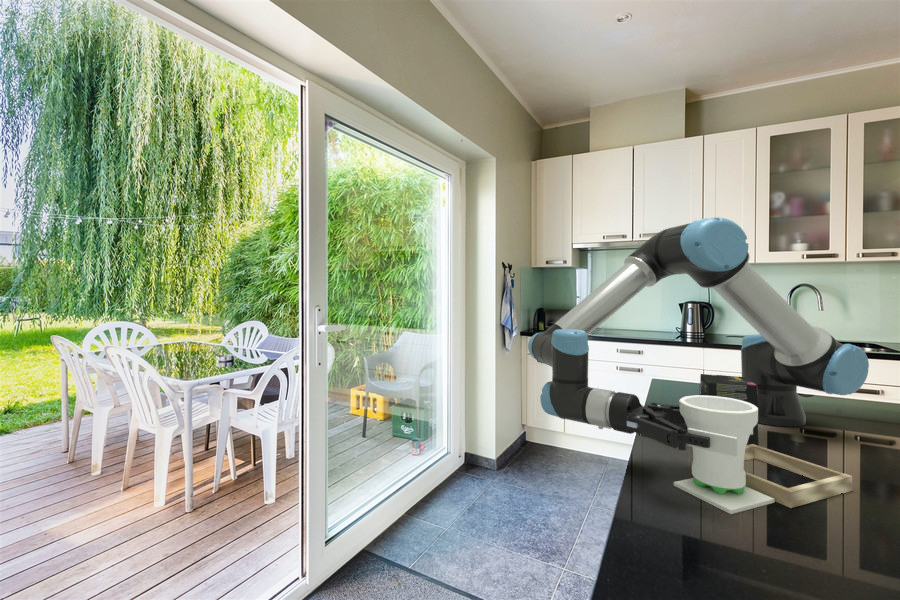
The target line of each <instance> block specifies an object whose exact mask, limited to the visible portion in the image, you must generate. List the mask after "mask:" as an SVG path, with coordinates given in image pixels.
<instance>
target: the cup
mask: <svg viewBox="0 0 900 600" xmlns="http://www.w3.org/2000/svg"><path fill="white" fill-rule="evenodd" d="M678 403H679V406H680V413H681V415H682V416H683V418H684V420H685V422H686V424H685V425H686V427H687V429H688V428H692V429H697V430H702V431H707V432H712V433H717V434H722V435H727V436H732V437H737V438H738V456H737V457H735V456H730V455H726V454H722V453H717V452H713V451H709V450H704V449H700V448H695V447H692V448H691V449H692V458H693V459H692V460H693V461H692V463H691V475H692V476H693V477H692V478H694V480H695V482H696V484H697V485H698V486H701V487H706V486H710V487H712V488H713V490H714V491H715V492H716V493H718V494H724V493H725V492H726V491H727V490H731V491H732V492H734V493H737V494H741V493H743V491H744V488H745V485H746V474H745V472H746V471H745V469H744V468H745V467H744V466H745V465H744V464H745V461H744V455H745V448H746V445H747V442H748V439H749V436H750V434H751V432H752V429H753V428H754V427H755V425H756V424H757V422H758V408H757V407H756V406H755V405H753V404H751V403H748V402H745V401H742V400H737V399H733V398H726V397H718V396H706V395H697V394H696V395H687V396H683V397H681V398H680V399H679V401H678Z"/></svg>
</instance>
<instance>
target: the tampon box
mask: <svg viewBox="0 0 900 600" xmlns="http://www.w3.org/2000/svg"><path fill="white" fill-rule="evenodd" d="M699 382H700V384H699V385H700V386H699V387H700V389H699V390H700V392H699V393H700V395H706V396H718V397H726V398H733V399H737V400H742V401H745V402H748V403H751V404H753V405H755V406H756V407H757V408H758V391H757V385H756V384H754V383H753V382H751V381H750V380H748V379H747V378H745V377H742V376H737V375H735V376H733V375H724V374H707V373H706V374H705V373H701V374H700V381H699ZM750 444H754V445H757V446H760V445H759V423H758V422H757V424H756V425H755V427H754V428H753V435H751V434H750V436H749V439H748V442H747V445H750Z"/></svg>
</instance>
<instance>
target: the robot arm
mask: <svg viewBox="0 0 900 600" xmlns="http://www.w3.org/2000/svg"><path fill="white" fill-rule="evenodd" d="M746 240H748V236H747V235H746V232H745V231H744V229H743V228H742V227H741V226H740V225H739V224H737V223H736V222H734V221H732V219H731V220H730V219H728V218H724V217H709V218H707V217H705V218H700V219H698V220H694V221H692V222H690V223H686V224H681V225H677V226H673V227H669V228H665V229H663V230H661V231H659V232H657V233H656V234H654V235H653V236H651V237H650V238H649V239H648V240H646V241H645V242H643V244H642V245H640V246H639V247H638V248H637V249H636V250H634V251H633V252H632V253H631V254H629V255H628V256H627V257H626V258H625V259H624V262H623V264H624V265H623V266H622V267H620V268H619V269H618V270H617V271H615V272H614V273H613V274H611V276H609V278H607V279H606V280H605V281H603V282H602V283H601V284H600V285H598V287H596V288H595V289H594V290H593V291H591V293H590V294H588V295H587V296H586V297H585V298H583V299H582V300H581V301H580V302H578V303H577V305H575V306H574V307H573V308H572V309H570V310H569V311H568V312H566V313H565V314H564V315H563V316H562V317H561V318H560V319H558V320H557V321H556V322H555V323H554V324H552V325H551V326H550V327H548V328H547V329H546V330H545V331H540V332H536V333H534V334H533V335H532V336H531V337H530V339H529V341H528V345H527V350H528V351H529V355H530V357H532V358H533V359H535V361H537V362H538V363H541V364H545V365H548V366H549V367H551V370H552V377H551V381H548V382H546V383H545V384H544V385H543V387H542V389H541V394H540V397H539V399H540V405H541V406H540V407H541V408H542V410H543V412H544V413H546V414H547V415H551V416H553V417H557V418H560V419H562V420H567V421H573V422H578V423H583V424H587V425H590V426H591V425H592V426H597V427H598V429H599V430H603V429H607V430H608V429H609V430H610V429H612V430H613V431H617V432H621V433H625V434H630V435H632V434H634V433H636V434H639V435H641V436H644V437H647V438H648V439H651V440H653V441H656V442H658V443H660V444H664V445H666V446H668V447H671V448H674V449H676V448H678V450H679V451H687V447H695V448H700V449H704V450H709V451H713V452H717V453H722V454H726V455H730V456H735V457H737V456H738V438H737V437H732V436H727V435H722V434H717V433H712V432H707V431H702V430H697V429H692V428H687V430H686V429H685V428H683V427H681V426H678V425H677V424H679V425H680V424H681V425H686V422H685V420H684V418H683V416H682V415H681V413H680V405H678V404H677V405H676V404H675V405H674V404H664V403H663V404H662V403H657V402H651V403H650V404H647V406H646V405H645V406H644V405H642V403H641V402H640V399H639V397H638V396H637V395H636V394H633V393H628V392H621V391H618V392H616V391H615V390H610V389H609V390H608V389H604V388H603V389H602V388H597V387H590V386H589V351H590V347H589V346H590V345H589V339H588V338H589V335H590V334H592V332H594V331H596V329H597V328H599V327H600V326H601V325H602V324H603V323H604V322H606V321H607V320H608V319H609V318H610V317H612V316H614V314H615V313H616V312H617V311H619V309H621V308H623V306H625V305H626V304H627V303H628V302H630V300H631V299H633V298H634V297H635V296H636V295H638V294H639V293H640V292H641V291H642V290H643V289H645V288H646V287H648V288H649V287H653V286H655V285H656V284H657V283H658V282H660V281H661V280H663V279H665V278H667V277H670V276H671V277H672V276H674V275H685V274H686V275H688V276H689V277H690V278H691V279H692V280H693V281H695V282H696V284H698V285H699V286H700V287H701V288H703V289H713V290H714V291H715V292H716V293H717V294H718V295H719V296H720V297H721V298H722V299H723V300H725V302H726V303H728V304H729V306H731V308H732V309H734V310H735V312H737V313H738V314H739V315H740V316H741V317H742V318H743V319H744V320H745V321H746V322H747V323H748V324H749V325H750V326H751V327H752V328H753V329H754V330H755V331H756V332H757V333H758V334H755V333H754V334H746V335H745V336H743V337H742V340H741V348H740V354H741V355H740V356H741V357H740V359H741V360H740V361H741V377H745V378H747V379H748V380H750V381H751V382H753V383H754V384H756V385H757V391H758V424H762V425H767V426H776V427H791V428H792V427H796V428H797V427H803V426H805V425H806V424H807V421H806V420H807V419H806V418H807V417H806V413H805V411H804V407H803V405H802V403H801V400H800V398H799V396H798V392H797V387H800V388H805V389H808V390H814V391H817V392H823V393H826V394H828V395H838V396H848V395H852V394H854V393H856V392H857V391H859V390H860V389H861V387H863V385H864V384H865V382H866V380H867V378H868V375H869V368H870V367H869V366H870V364H869V358H868V356H867V354H866V352H865V350H863V349H862V348H861V347H859V346H856V345H854V344H851V343H841V342H839V340H837V339H835V337H834V336H832V335H831V334H830V333H829V331H827V330H826V329H825V328H821V327H816V326H815V327H814V326H811V324H810V323H808V321H807V320H806V319H805V318H804V317H802V315H801V314H800V313H799V312H797V310H795V308H793V307H792V305H791V304H790V303H789V302H787V300H785V299H784V297H782V295H781V294H780V293H778V292H777V291H776V290H775V289H774V288H773V286H772V285H770V284H769V282H768V281H766V280H765V278H763V277H762V276H761V275H760V273H759V272H757V271H756V270H755V268H754V267H752V266H751V265H750V263H749V261H750V259H751V257H750V252H749V243H747V242H746ZM751 435H753V429H752V432H751Z"/></svg>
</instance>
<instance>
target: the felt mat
mask: <svg viewBox="0 0 900 600" xmlns="http://www.w3.org/2000/svg"><path fill="white" fill-rule="evenodd" d="M673 486H674V487H676V488H678V489H680V490H682V491H683V492H685V493H688V494H690V495H692V496H694V497H696V498H697V499H700V500H701V501H704V502H706V503H708V504H710V505H711V506H714V507H715V508H717V509H719V510H722V511H723V512H725V513H728V514H729V515H733V514H737V513H741V512H744V511H748V510H752V509H755V508H759V507H763V506H768V505H770V504H774V503H775V499H774V498H771V497H769V496H767V495H764V494H762V493H760V492H757V491H755V490H753V489H750V488H748V487H746V486H745V488H744V491H743V493H741V494H737V493H734V492H732V491H731V490H727V491H726V492H725V493H724V494H718V493H716V492H715V491H714V490H713V488H712V487H710V486H706V487H701V486H698V485H697V484H696V482H695V480H694V477H691V478H687V479H686V478H685V479H682V480H681V479H680V480H677V481H676V480H675V481H673Z"/></svg>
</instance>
